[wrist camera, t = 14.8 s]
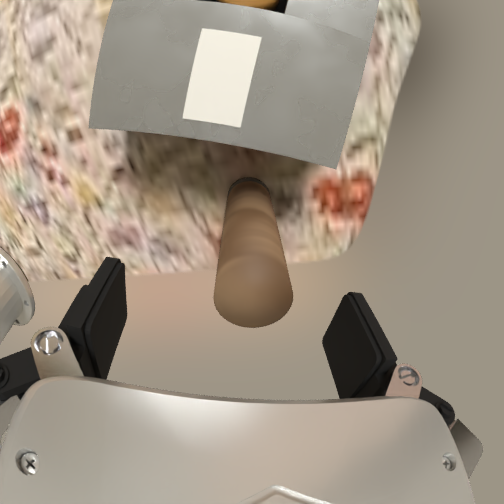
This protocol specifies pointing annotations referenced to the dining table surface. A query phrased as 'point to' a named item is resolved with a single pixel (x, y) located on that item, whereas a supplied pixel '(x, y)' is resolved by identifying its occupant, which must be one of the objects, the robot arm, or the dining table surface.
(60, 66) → the dining table surface
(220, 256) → the brown rounded rod
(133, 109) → the box
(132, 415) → the robot arm
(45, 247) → the dining table surface
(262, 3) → the button
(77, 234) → the dining table surface
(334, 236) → the dining table surface
